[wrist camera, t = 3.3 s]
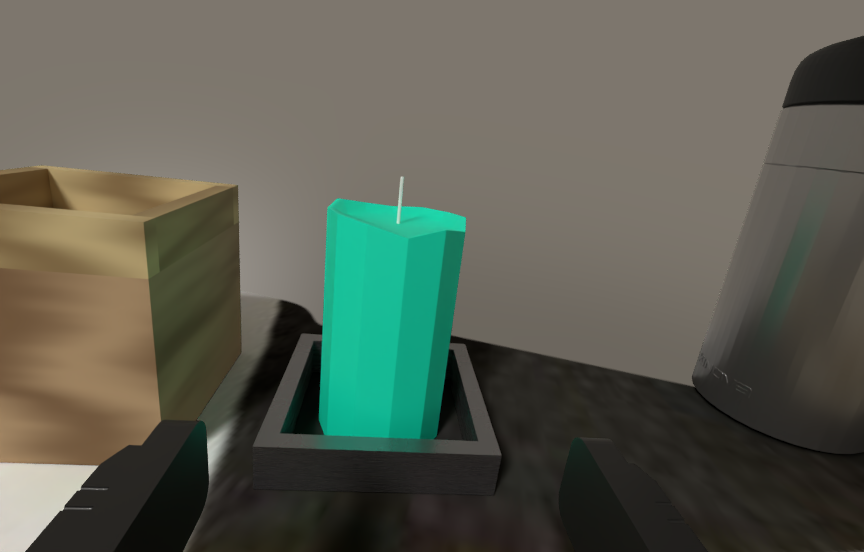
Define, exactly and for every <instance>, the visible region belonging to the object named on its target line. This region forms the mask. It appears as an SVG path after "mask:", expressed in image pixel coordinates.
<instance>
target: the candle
mask: <svg viewBox="0 0 864 552" xmlns="http://www.w3.org/2000/svg"><path fill="white" fill-rule="evenodd" d="M403 184H404V177H402V176H401V180H400V191H399V202H398V206H387V205H380V204H373V203H365V202H359V201H352V200H345V199H339V198H338V199H336V200H335V201H334V202H333V203H332V204H331V205H330V206H329V207H328V211H327V237H326V259H325V284H324V307H323V308H324V309H323V331H322V356H321V380H320V404H319V422H320V424H321V427H322V430H323V432H324V435H332V436H357V437H382V438H407V439H432V440H433V439H434V438H435V437H436V436H437V430H438V423H439V416H440V409H441V402H442V395H443V388H444V380H445V373H446V366H447V359H448V352H449V345H450V338H451V330H452V323H453V315H454V309H455V302H456V294H457V287H458V280H459V273H460V266H461V259H462V251H463V245H464V238H465V227H466V217H462V216H459V215H456V214H453V213H449V212H444V211H439V210H433V209H429V208H424V207H403V206H401V205H402V195H403Z"/></svg>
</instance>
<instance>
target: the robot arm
mask: <svg viewBox="0 0 864 552" xmlns="http://www.w3.org/2000/svg"><path fill="white" fill-rule="evenodd" d="M782 107H783V108H784V109H783V110H781V112H780V115H779V118H778V121H777V124H776V127H775V130H774V132H773V136H772V138H771V141H770V144H769V147H768V151H767V154H766V156H765V159H764V163H765V164H763V166H762V169H761V172H760V175H759V178H758V181H757V184H756V187H755V190H754V193H753V196H752V199H751V202H750V205H749V208H748V211H747V214H746V217H745V220H744V223H743V226H742V229H741V232H740V234H739V238H738V241H737V244H736V246H735V250H734V252H733V255H732V258H731V262H730V264H729V267H728V270H727V274H726V276H725V279H724V282H723V285H722V288H721V291H720V294H719V297H718V300H717V303H716V306H715V309H714V312H713V315H712V318H711V321H710V324H709V327H708V330H707V333H706V336H705V339H704V342H703V345H702V348H701V351H700V354H699V357H698V360H697V363H696V366H695V369H694V372H693V375H692V380H693V384H694V386H695V387H696V389H697V390H698V392H699V393H700V394H701V395H702V396H703V397H704V398H705V399H706V400H708V401H709V402H710V403H711V404H713V405H714V406H715V407H717V408H718V409H719V410H721V411H723V412H724V413H726V414H727V415H729V416H731V417H732V418H734V419H736V420H738V421H739V422H741V423H743V424H745V425H747V426H749V427H751V428H753V429H755V430H758V431H760V432H762V433H765V434H767V435H769V436H772V437H774V438H777V439H780V440H783V441H785V442H788V443H791V444H794V445H797V446H801V447H805V448H809V449H813V450H817V451H822V452H829V453H835V454H856V453H861V452H864V36H861V37H857V38H854V39H850V40H846V41H842V42H839V43H835V44H832V45H830V46H827V47H824V48H822V49H820V50H818V51H816V52H814V53H812V54H810V55H809V56H807V57H806V58H805V59H804V60H803V61H801V63H800V64H799V66H798V67H797V69H796V70H795V72H794V75H793V77H792V80H791V82H790V85H789V88H788V91H787V94H786V97H785V100H784V103H783V106H782ZM208 486H209V473H208V454H207V435H206V426H205V423H204V422H203V421H188V420H162V421H161V422H160V423H159V424H158V425H157V426H156V427H155V429H154V430H153V431H152V432H151V434H150V435H149V436H148V438H147V439H146V440H145V441H144V443H143V444H142V445H128V446H126V447H125V448H123V449H122V450H120V451H119V452H117V453H116V454H114V455H113V456H111V457H110V458H108V459H107V460H105V461H104V462H102V463H101V464H100V465H99V466H98V467H97V469H96V470H95V471H94V472H93V473H92V474H91V476H90V477H89V478H88V479H87V480H86V481H85V483H84V484H83V485H82V486H81V490H80V491H77V492H76V493H75V494H74V495H73V497H72V498H71V499H70V500H69V501H68V502H67V504H66V505H65V507H64V510H63V511H60V512H59V513H58V514H57V515H56V516H55V518H54V519H53V520H52V521H51V522H50V523H49V525H48V526H47V527H46V528H45V529H44V530H43V532H42V533H41V534H40V535H39V536H38V537H37V539H36V540H35V541H34V542H33V543H32V544H31V546H30V547H29V548H28V549H27V550H26V551H25V552H183V550H184V548H185V546H186V544H187V542H188V540H189V538H190V536H191V534H192V532H193V530H194V528H195V526H196V524H197V522H198V520H199V517H200V515H201V513H202V511H203V508H204V505H205V502H206V498H207V493H208ZM559 509H560V514H561V518H562V521H563V524H564V526H565V529H566V531H567V533H568V536H569V538H570V540H571V543H572V545H573V547H574V550H575V552H708V551H707V550H706V548H705V547H704V546H703V544H702V543H701V542H700V540H699V539H698V537H697V536H696V535H695V533H694V532H693V531H692V529H691V528H690V527H689V525H688V524H685V523H684V519H683V517H682V516H681V514H680V513H679V512H678V510H677V509H676V508H675V506H672V505H671V501H670V500H669V498H668V497H667V495H666V494H665V493H664V491H663V490H662V489H661V487H660V486H659V485H658V483H657V482H656V481H655V480H654V479H653V478H651V477H650V476H649V475H648V474H647V473H645V472H644V471H643V470H642V469H640V468H639V467H638V466H637V465H636V464H631V463H628V462H627V461H626V460H625V458H624V457H623V455H622V454H621V452H620V451H619V449H618V448H617V447H616V445H615V444H614V443H613V441H611V440H610V439H600V438H575V439H574V440H573V442H572V444H571V447H570V451H569V455H568V459H567V463H566V467H565V471H564V475H563V479H562V483H561V487H560V491H559Z"/></svg>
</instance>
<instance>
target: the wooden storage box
mask: <svg viewBox="0 0 864 552" xmlns="http://www.w3.org/2000/svg"><path fill="white" fill-rule="evenodd" d="M238 212H239V211H238V185H231V184H222V183H212V182H202V181H192V180H182V179H171V178H162V177H152V176H142V175H132V174H121V173H112V172H102V171H92V170H82V169H72V168H62V167H52V166H42V165H41V166H33V167H24V168H17V169H7V170H0V462H9V463H42V464H75V465H100V464H101V463H102V462H104V461H105V460H107V459H108V458H110V457H111V456H113V455H114V454H116V453H117V452H119V451H120V450H122V449H123V448H125V447H126V446H128V445H142V444H143V443H144V441H145V440H146V439H147V438H148V436H149V435H150V434H151V432H152V431H153V430H154V429H155V427H156V426H157V425H158V424H159V423H160V422H161V421H162V420H188V421H196V420H197V418H198V417H199V415H200V414H201V412H202V411H203V409H204V408H205V406H206V405H207V403H208V402H209V400H210V399H211V397H212V396H213V394H214V393H215V391H216V390H217V388H218V387H219V385H220V384H221V382H222V381H223V379H224V378H225V376H226V375H227V373H228V372H229V370H230V369H231V367H232V366H233V364H234V363H235V361H236V360H237V358H238V357H239V355H240V354H241V307H240V265H239V264H240V259H239V213H238Z"/></svg>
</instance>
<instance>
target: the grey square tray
mask: <svg viewBox="0 0 864 552" xmlns="http://www.w3.org/2000/svg"><path fill="white" fill-rule="evenodd" d="M321 356H322V335H317V334H301V337H300V339H299V341H298V344H297V346H296V348H295V350H294V353H293V355H292V357H291V360H290V362H289V364H288V367H287V369H286V371H285V373H284V376H283V378H282V380H281V383H280V385H279V387H278V390H277V392H276V394H275V396H274V399H273V401H272V403H271V406H270V408H269V410H268V413H267V415H266V417H265V420H264V422H263V424H262V426H261V429H260V431H259V433H258V436H257V438H256V440H255V443H254V445H253V489H275V490H314V491H353V492H392V493H430V494H469V495H494V492H495V487H496V482H497V477H498V471H499V466H500V461H501V456H502V455H501V452H500V449H499V446H498V443H497V440H496V437H495V434H494V431H493V428H492V425H491V422H490V419H489V416H488V413H487V409H486V406H485V403H484V400H483V397H482V394H481V391H480V388H479V385H478V382H477V379H476V376H475V373H474V370H473V367H472V364H471V361H470V358H469V355H468V352H467V349H466V346H465V344H455V343H450V345H449V352H448V359H447V366H446V373H445V379H449V380H450V385H451V389H452V394H453V398H454V403H455V407H456V412H457V416H458V421H459V425H460V430H461V434H462V439H463V441H457V440H432V439H407V438H382V437H357V436H332V435H307V434H293V431H294V428H295V425H296V422H297V419H298V415H299V412H300V409H301V406H302V403H303V400H304V397H305V394H306V391H307V388H308V385H309V381H310V378H311V375H312V372H321Z"/></svg>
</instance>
